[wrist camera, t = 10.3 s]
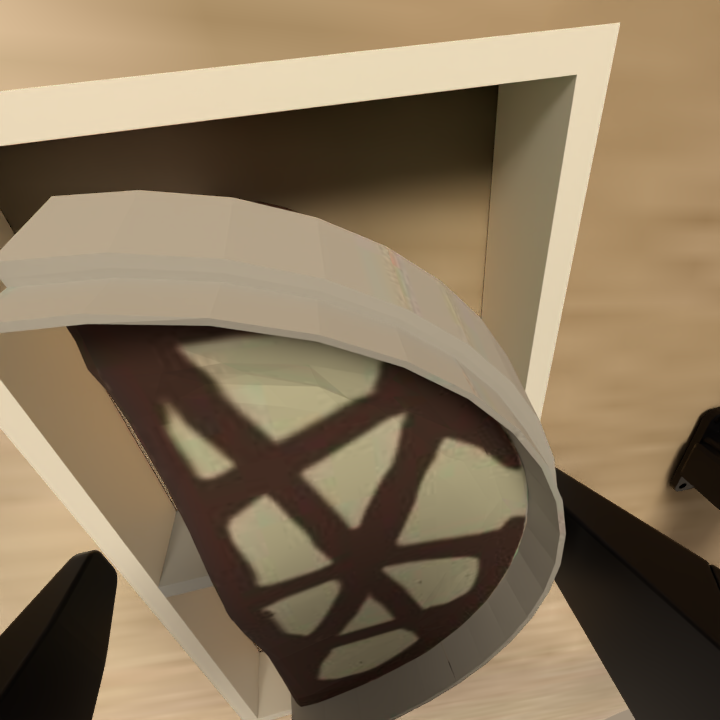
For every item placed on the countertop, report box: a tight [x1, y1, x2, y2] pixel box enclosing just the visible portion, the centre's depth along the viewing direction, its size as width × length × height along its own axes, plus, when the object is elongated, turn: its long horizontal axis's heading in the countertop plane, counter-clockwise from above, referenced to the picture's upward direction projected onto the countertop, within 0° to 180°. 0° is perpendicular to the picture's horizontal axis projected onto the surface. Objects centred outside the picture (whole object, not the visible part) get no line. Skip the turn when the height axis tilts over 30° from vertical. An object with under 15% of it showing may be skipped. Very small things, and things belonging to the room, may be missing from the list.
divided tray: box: [0, 23, 620, 720], centre depth 17 cm, size 16×32×4 cm, turn 6°
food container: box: [0, 190, 566, 720], centre depth 10 cm, size 12×6×10 cm, turn 7°
